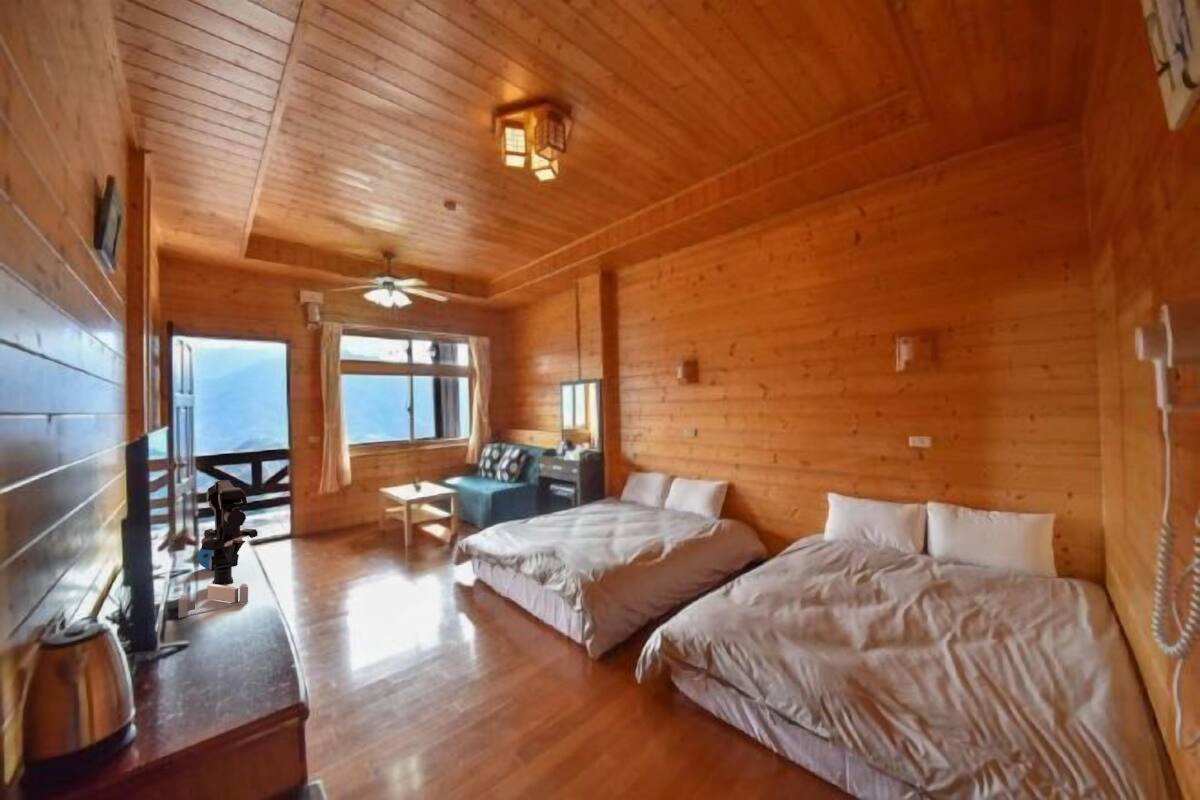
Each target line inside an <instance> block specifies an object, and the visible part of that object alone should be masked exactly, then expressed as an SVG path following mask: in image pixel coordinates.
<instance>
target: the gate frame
mask: <svg viewBox="0 0 1200 800" xmlns="http://www.w3.org/2000/svg"><path fill="white" fill-rule="evenodd" d="M247 602H248V603H249V584H247V582H243V583H241V585H240V586H239V595H238V603H232V602H227V603H225V604H224V603H223V604H219V605H215V606H210V607H205V608H200V609H196V600H195V599H193V600H189V596H187V595H185V594H182V595H181V596H180V598H178V619H181V618H184V617H191V616H194V615H198V614H204V613H209V612H213V611H217V610H222V609H226V608H231V607H235V606H239V605H243V603H244V604H247Z"/></svg>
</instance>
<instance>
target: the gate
mask: <svg viewBox="0 0 1200 800" xmlns="http://www.w3.org/2000/svg"><path fill="white" fill-rule="evenodd" d="M206 588H207V597H206V598H207V599H208V600H214V601H220V602H225V603H226V602H227V603H238V601H239V591H240V587H236V586H230V585H229V586H228V585H225V584H223V585H217V584H213V583H211V584H208V585H207V587H206Z"/></svg>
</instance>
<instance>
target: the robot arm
mask: <svg viewBox="0 0 1200 800" xmlns="http://www.w3.org/2000/svg"><path fill="white" fill-rule="evenodd" d="M206 502H208V506H209V508H210V509H211V510H212V511H213V513H214V515H213V516H214V529H213V528H207V529H206V530H204V532H203V535H204V537H205V538H206V539H207V538H209V539H210V540H208V541H205V542H203V543H202V544H201V547H202V550H213V552H212V556H211V557H210V561H209V569H208V570H210V572H213V580H212V583H211V584H217V585H227V584H233V583H234V578H233V576H232V573H233V568H234V567H237V566H238V565H239V563H238V562H239V557H240V554H238V553H239V551H240V549H241V548H242V547H243V544H244V543H246V540H243V539H244V538H246V537H250V538H251V539H253V538H256V537H258V536H259V535H258V534H259V533H258V530H257V529H255V528H254V529H253V528H243V529H241V526H244V523H245V522H246V520H247V516H246V513H245V512H243V511H242V508H245V507H247V504H248V501H247V494H246V493H245V491H244V490H243V489H242V487H234V485H233V484H232V482H231V480H229V479H224V480H222V479H221V480H217V481H214V483H213V485H211V486H210V487H209V488H207V491H206ZM213 538H216V539H213Z"/></svg>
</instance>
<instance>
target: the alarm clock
mask: <svg viewBox="0 0 1200 800" xmlns="http://www.w3.org/2000/svg"><path fill="white" fill-rule="evenodd" d="M213 539H216V538H213ZM208 540H210V539H209V538H207V539H206V538H205V536H204V537H203V538H202V539H201V541H200V544H201V545H202V543H203V542H205V541H208ZM212 552H213V550H202V546H201V548H200V549H199V550H198V553H197V561H198V564H199V565H200V566H201V567H203V568H205V569H207V570H210V569H209V561H210V557H211V556H212Z"/></svg>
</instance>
